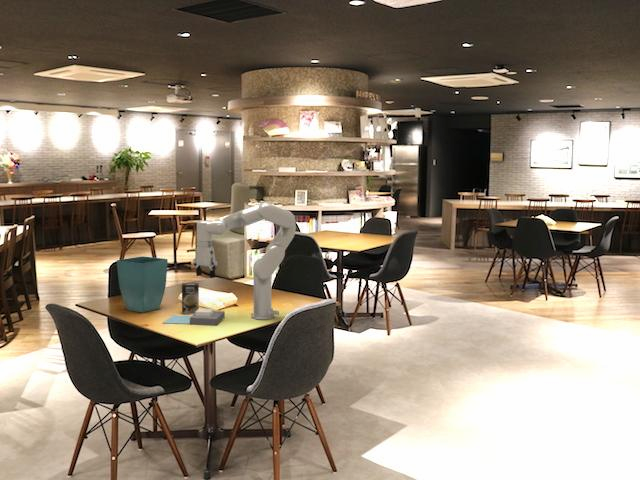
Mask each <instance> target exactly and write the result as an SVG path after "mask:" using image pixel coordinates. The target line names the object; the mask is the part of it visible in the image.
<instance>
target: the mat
mask: <svg viewBox="0 0 640 480" xmlns="http://www.w3.org/2000/svg"><path fill="white" fill-rule="evenodd" d="M191 316H192V315H185V314H182V315H181V314H173V315H171V316H169V317H168V318H166V319H165V320H164V321H162V324H170V325H171V324H172V325H191V324H190V317H191Z"/></svg>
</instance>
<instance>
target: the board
mask: <svg viewBox="0 0 640 480" xmlns="http://www.w3.org/2000/svg"><path fill="white" fill-rule="evenodd" d="M190 316H191V317H190V324H189V325H195V326H196V325H197V326H218V325H219V324H220V323H221V322H222V321H224V319H225V318H226V311H224V310H214V314H213V315H211V316H195V314H192V315H190Z"/></svg>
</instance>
